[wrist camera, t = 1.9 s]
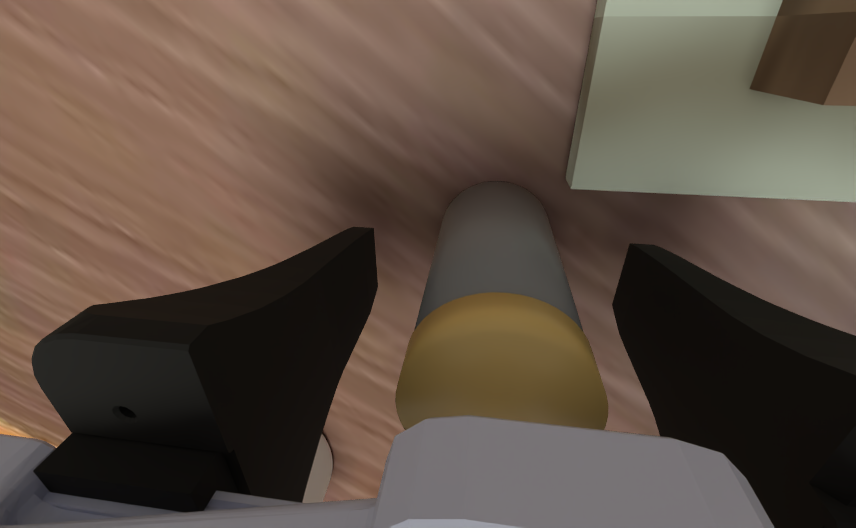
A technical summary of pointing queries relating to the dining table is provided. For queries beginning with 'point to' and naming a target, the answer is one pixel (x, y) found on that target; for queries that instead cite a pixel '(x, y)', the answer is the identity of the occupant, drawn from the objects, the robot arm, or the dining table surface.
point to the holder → (719, 99)
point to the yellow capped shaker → (499, 321)
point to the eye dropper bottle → (319, 473)
